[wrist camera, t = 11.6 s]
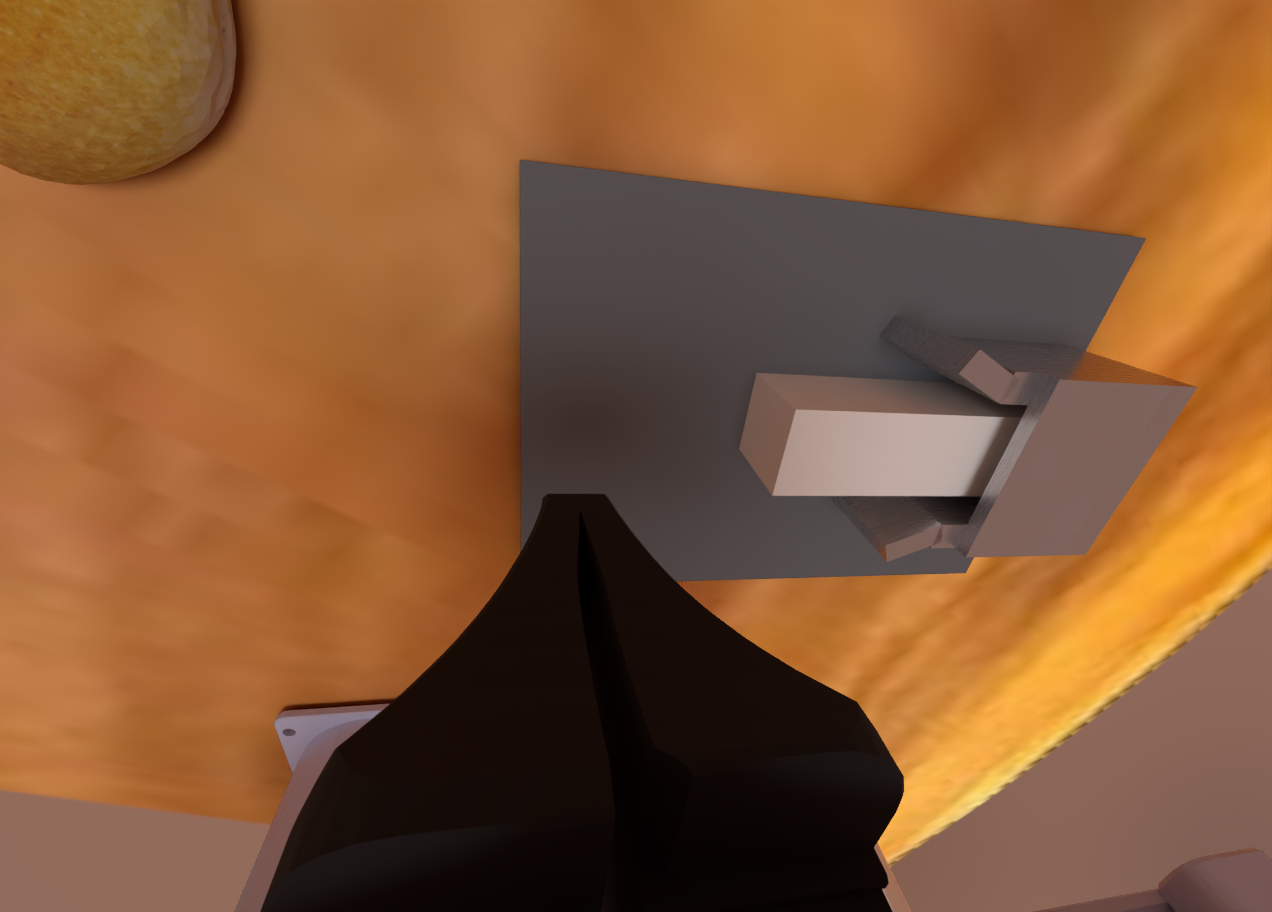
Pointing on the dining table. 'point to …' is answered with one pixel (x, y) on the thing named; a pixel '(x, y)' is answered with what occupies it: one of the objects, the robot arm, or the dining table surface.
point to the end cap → (1030, 448)
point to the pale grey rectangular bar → (873, 436)
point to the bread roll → (110, 84)
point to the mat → (751, 345)
